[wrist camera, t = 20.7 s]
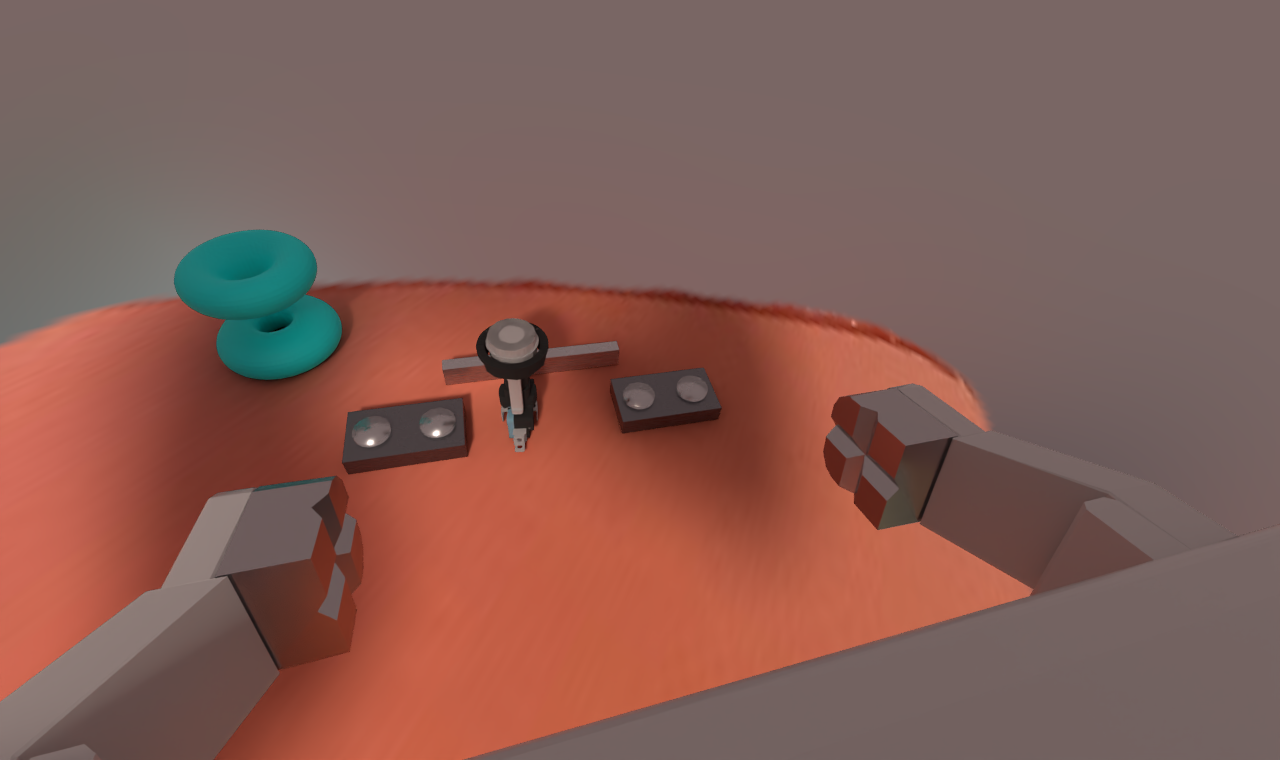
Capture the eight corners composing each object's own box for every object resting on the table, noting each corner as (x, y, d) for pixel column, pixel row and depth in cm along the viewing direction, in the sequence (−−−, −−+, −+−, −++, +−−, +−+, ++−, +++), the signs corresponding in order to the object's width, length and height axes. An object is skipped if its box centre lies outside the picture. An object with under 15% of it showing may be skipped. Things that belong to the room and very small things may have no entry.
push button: (551, 454, 46) (548, 372, 39) (486, 457, 46) (469, 374, 38) (551, 393, 51) (547, 310, 44) (491, 395, 50) (477, 310, 43)
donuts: (320, 277, 44) (169, 311, 40) (356, 364, 51) (232, 401, 47) (298, 213, 49) (163, 238, 45) (334, 300, 57) (220, 329, 53)
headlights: (348, 474, 44) (340, 459, 42) (357, 385, 49) (351, 370, 48) (718, 418, 51) (722, 404, 49) (687, 347, 57) (690, 333, 55)
